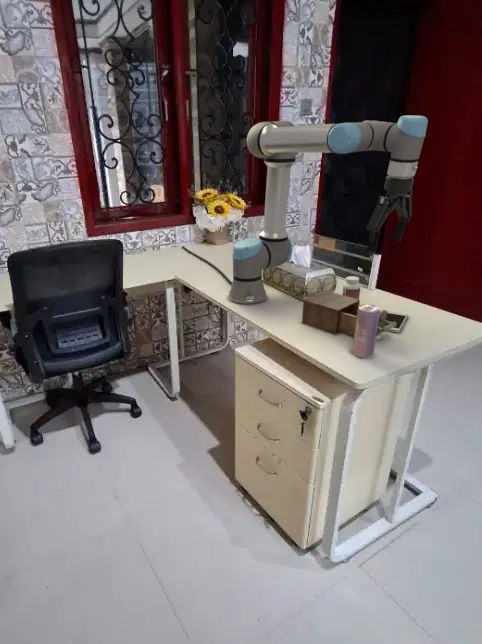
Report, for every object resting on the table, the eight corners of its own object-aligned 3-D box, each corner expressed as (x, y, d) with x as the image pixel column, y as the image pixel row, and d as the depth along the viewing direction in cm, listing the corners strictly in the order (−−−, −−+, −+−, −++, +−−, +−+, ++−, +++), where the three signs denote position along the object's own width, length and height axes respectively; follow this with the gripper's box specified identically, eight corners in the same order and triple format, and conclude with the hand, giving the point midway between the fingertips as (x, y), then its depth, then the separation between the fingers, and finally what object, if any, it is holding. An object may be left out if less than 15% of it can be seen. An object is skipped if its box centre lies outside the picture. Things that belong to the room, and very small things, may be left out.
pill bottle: (361, 306, 158) (365, 278, 153) (350, 310, 155) (353, 281, 150) (349, 301, 163) (352, 274, 158) (337, 305, 160) (340, 277, 155)
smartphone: (407, 316, 147) (408, 313, 147) (398, 332, 136) (398, 330, 135) (386, 312, 151) (386, 310, 150) (375, 328, 140) (376, 326, 139)
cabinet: (357, 323, 144) (360, 299, 140) (335, 334, 137) (338, 310, 133) (323, 312, 154) (325, 290, 150) (301, 323, 147) (303, 299, 143)
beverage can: (377, 353, 124) (384, 307, 118) (366, 360, 121) (373, 313, 114) (359, 347, 129) (365, 302, 122) (348, 353, 125) (353, 307, 119)
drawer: (398, 334, 133) (401, 314, 130) (379, 346, 127) (382, 325, 124) (350, 319, 145) (352, 301, 142) (330, 329, 139) (332, 310, 136)
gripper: (386, 185, 112) (370, 259, 124) (435, 171, 124) (417, 239, 136) (362, 180, 117) (349, 251, 129) (412, 167, 129) (396, 233, 141)
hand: (384, 245), depth 133 cm, fingers open, 13 cm apart
